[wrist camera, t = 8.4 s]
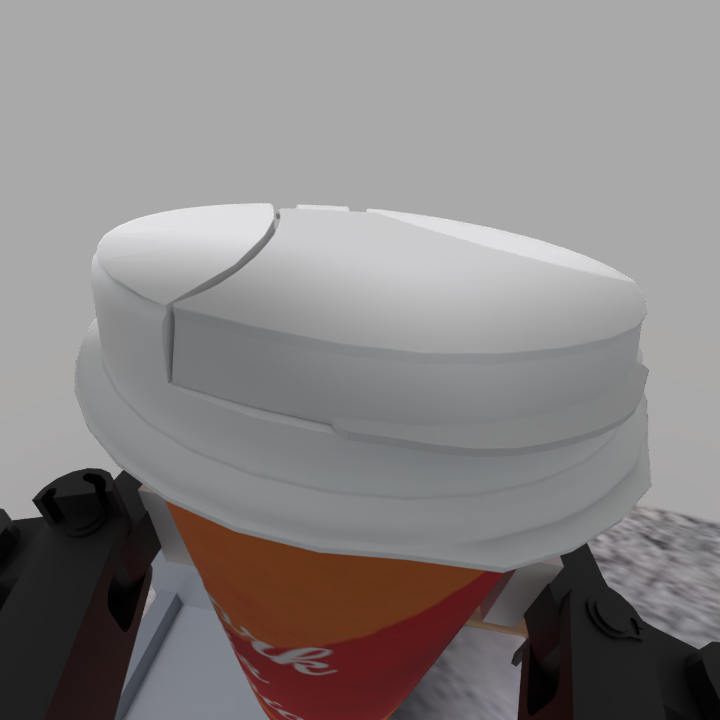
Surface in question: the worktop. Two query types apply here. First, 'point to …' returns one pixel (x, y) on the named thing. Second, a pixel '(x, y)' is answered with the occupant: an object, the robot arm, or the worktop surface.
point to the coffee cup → (362, 425)
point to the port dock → (184, 657)
